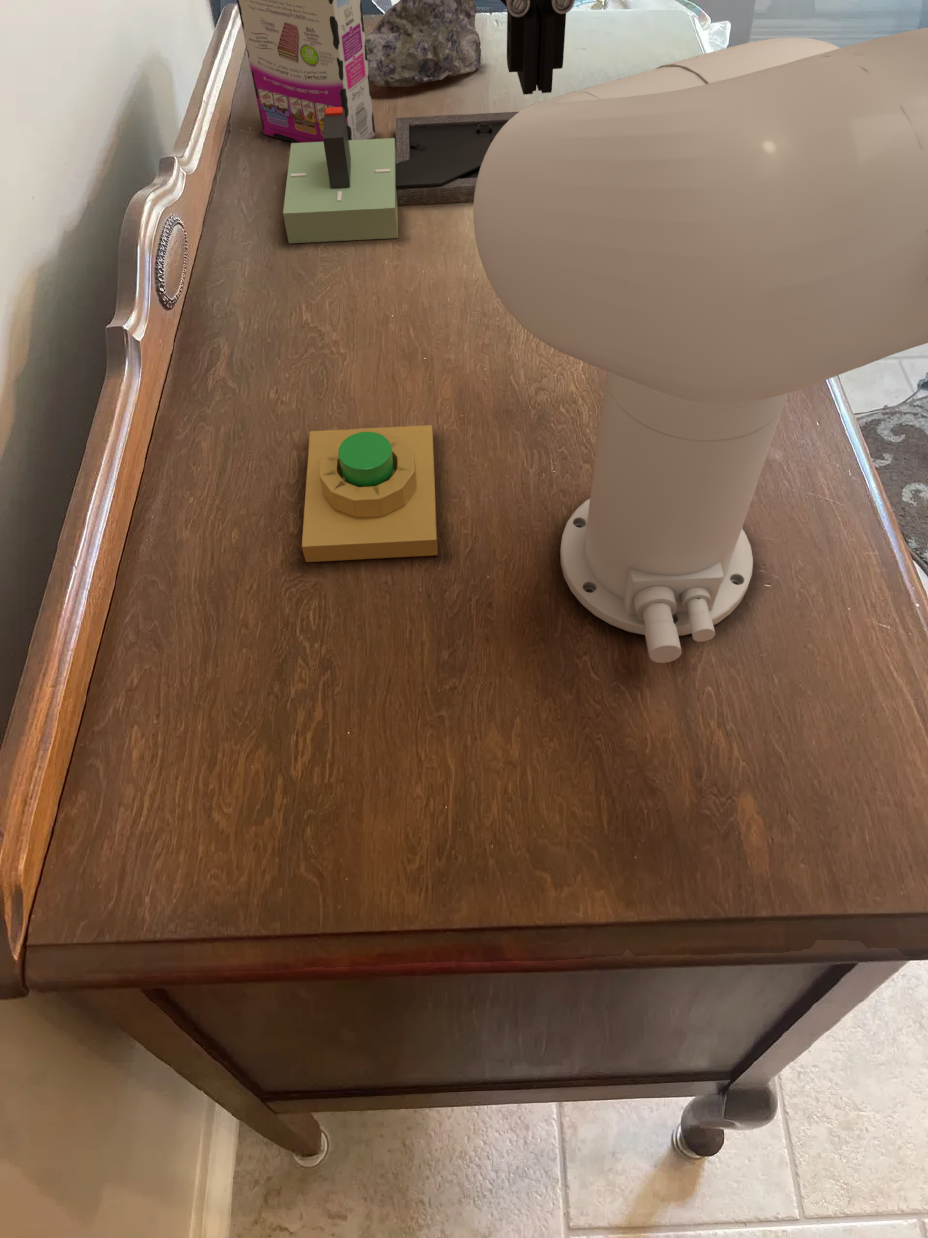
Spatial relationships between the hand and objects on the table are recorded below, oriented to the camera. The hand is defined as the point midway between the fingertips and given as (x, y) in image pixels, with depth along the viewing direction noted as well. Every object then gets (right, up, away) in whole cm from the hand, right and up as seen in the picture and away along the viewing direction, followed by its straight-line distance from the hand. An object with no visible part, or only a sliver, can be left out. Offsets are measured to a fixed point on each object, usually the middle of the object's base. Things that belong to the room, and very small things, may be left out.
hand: (533, 81), depth 53 cm
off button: (-11, -20, +10) cm, 25 cm away
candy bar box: (-19, +19, +42) cm, 50 cm away
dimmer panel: (-15, +9, +35) cm, 39 cm away
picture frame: (-2, +14, +39) cm, 41 cm away
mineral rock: (-8, +29, +49) cm, 58 cm away
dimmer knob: (-15, +10, +32) cm, 37 cm away
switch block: (-11, -22, +13) cm, 28 cm away
